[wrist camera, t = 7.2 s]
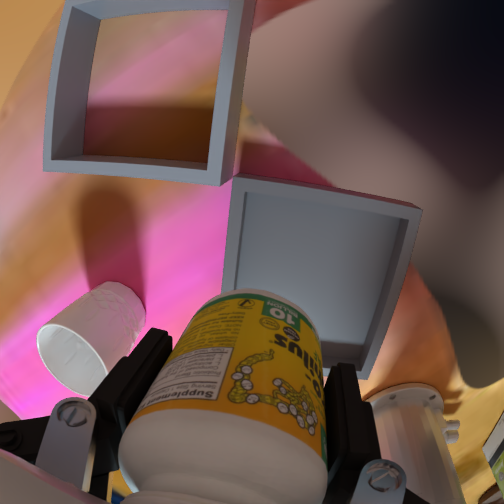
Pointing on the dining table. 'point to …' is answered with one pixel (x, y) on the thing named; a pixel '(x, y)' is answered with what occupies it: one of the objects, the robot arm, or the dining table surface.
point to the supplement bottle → (233, 410)
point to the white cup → (91, 336)
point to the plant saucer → (492, 496)
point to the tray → (323, 258)
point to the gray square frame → (77, 84)
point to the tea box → (496, 453)
